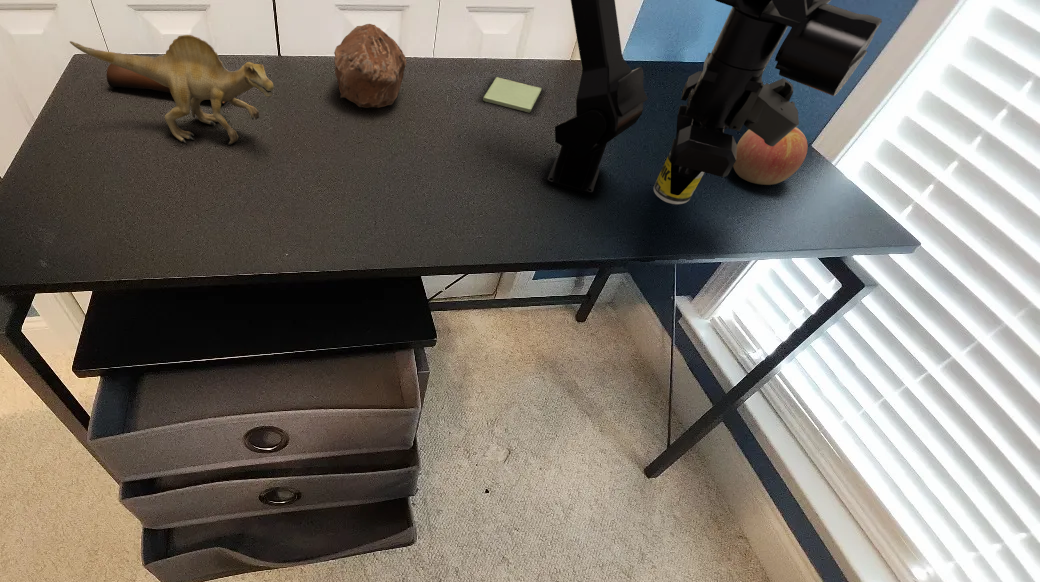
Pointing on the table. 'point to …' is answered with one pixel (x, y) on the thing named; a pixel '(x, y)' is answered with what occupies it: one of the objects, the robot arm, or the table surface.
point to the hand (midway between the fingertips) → (676, 183)
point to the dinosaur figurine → (193, 80)
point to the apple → (769, 157)
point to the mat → (512, 94)
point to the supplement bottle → (664, 183)
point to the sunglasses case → (132, 79)
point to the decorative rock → (369, 67)
